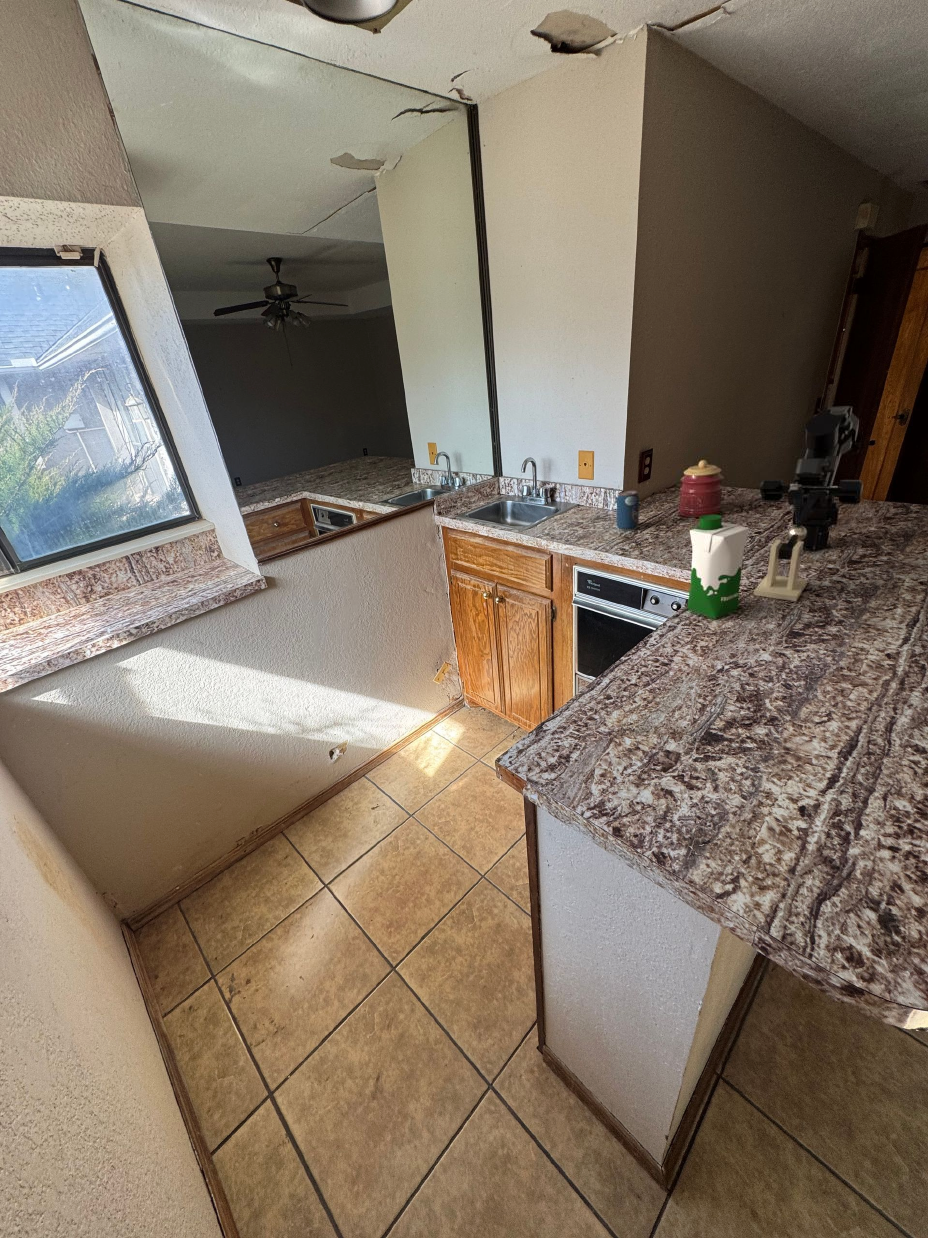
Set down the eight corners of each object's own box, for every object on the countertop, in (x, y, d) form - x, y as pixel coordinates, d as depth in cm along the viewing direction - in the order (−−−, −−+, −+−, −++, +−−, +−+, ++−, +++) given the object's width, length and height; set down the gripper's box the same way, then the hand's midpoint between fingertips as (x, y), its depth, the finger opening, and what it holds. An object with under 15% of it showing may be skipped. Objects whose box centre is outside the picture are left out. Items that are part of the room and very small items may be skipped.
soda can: (638, 530, 158) (638, 494, 153) (616, 531, 160) (616, 495, 155) (638, 524, 163) (639, 489, 158) (617, 525, 166) (617, 490, 161)
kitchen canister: (727, 514, 159) (733, 460, 152) (687, 520, 160) (691, 465, 152) (710, 505, 171) (714, 454, 163) (673, 510, 172) (675, 460, 164)
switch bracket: (766, 579, 112) (772, 534, 108) (806, 584, 107) (815, 538, 102) (753, 595, 106) (759, 549, 101) (796, 601, 101) (804, 553, 96)
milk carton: (708, 597, 108) (715, 510, 100) (745, 609, 101) (757, 516, 92) (680, 609, 105) (685, 520, 97) (717, 622, 98) (726, 527, 89)
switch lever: (789, 536, 111) (790, 522, 109) (807, 537, 108) (809, 523, 107) (774, 560, 104) (775, 546, 102) (793, 563, 102) (795, 547, 100)
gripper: (767, 443, 109) (747, 504, 107) (872, 439, 97) (852, 508, 95) (772, 471, 117) (753, 528, 115) (869, 471, 105) (850, 534, 103)
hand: (798, 524), depth 107 cm, fingers closed, pressing on switch lever
